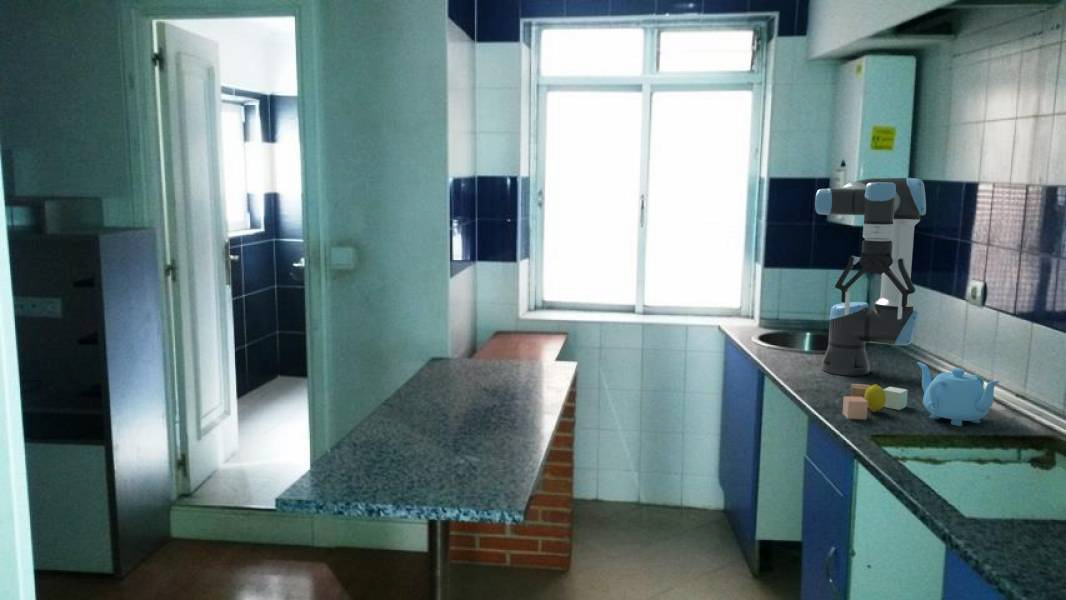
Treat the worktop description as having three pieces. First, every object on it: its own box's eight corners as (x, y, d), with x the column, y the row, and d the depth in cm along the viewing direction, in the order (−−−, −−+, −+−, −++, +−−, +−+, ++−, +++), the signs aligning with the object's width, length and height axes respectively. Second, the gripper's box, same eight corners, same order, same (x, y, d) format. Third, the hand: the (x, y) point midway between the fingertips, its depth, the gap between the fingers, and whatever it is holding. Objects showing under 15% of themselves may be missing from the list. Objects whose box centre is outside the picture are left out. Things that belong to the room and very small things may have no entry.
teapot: (995, 433, 204) (1000, 379, 202) (911, 422, 212) (915, 371, 210) (992, 416, 218) (996, 366, 216) (913, 407, 227) (917, 359, 225)
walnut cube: (850, 400, 235) (851, 383, 234) (868, 401, 233) (870, 385, 232) (850, 404, 230) (851, 387, 229) (869, 406, 228) (870, 389, 227)
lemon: (886, 415, 219) (888, 387, 218) (865, 414, 220) (867, 386, 219) (882, 409, 224) (884, 382, 223) (861, 408, 225) (863, 381, 224)
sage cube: (888, 403, 231) (889, 386, 230) (906, 406, 228) (907, 389, 227) (881, 406, 228) (882, 389, 227) (899, 410, 224) (900, 393, 223)
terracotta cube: (842, 413, 221) (843, 396, 220) (861, 414, 220) (862, 396, 220) (847, 419, 216) (848, 401, 215) (866, 419, 215) (867, 401, 215)
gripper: (826, 238, 220) (822, 314, 223) (926, 242, 207) (921, 322, 210) (832, 236, 226) (828, 310, 229) (929, 240, 213) (924, 318, 216)
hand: (872, 316), depth 220 cm, fingers open, 13 cm apart
